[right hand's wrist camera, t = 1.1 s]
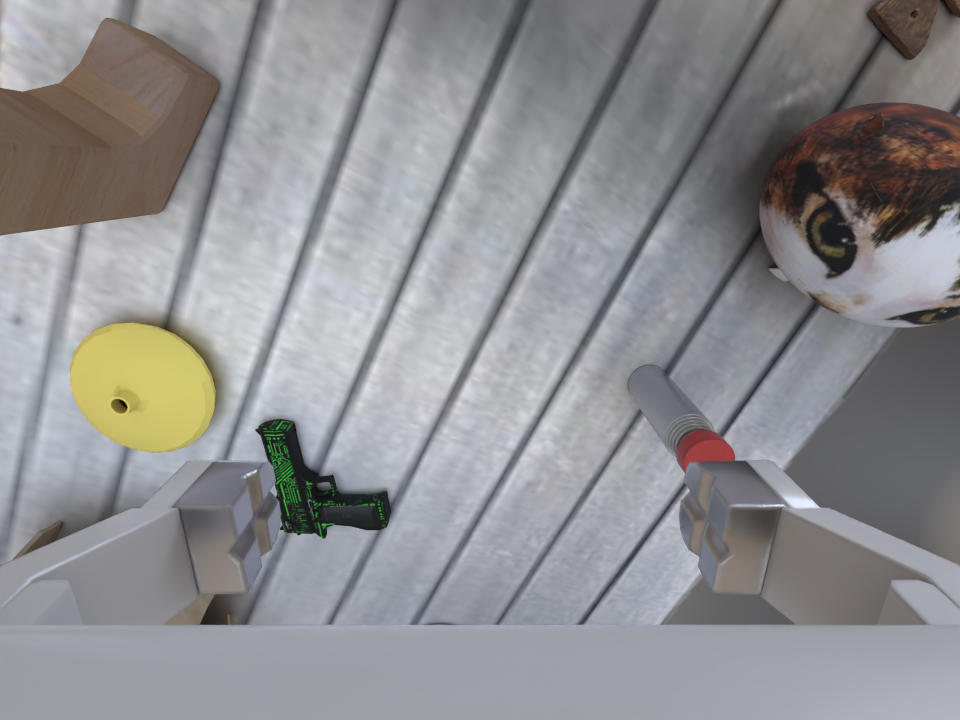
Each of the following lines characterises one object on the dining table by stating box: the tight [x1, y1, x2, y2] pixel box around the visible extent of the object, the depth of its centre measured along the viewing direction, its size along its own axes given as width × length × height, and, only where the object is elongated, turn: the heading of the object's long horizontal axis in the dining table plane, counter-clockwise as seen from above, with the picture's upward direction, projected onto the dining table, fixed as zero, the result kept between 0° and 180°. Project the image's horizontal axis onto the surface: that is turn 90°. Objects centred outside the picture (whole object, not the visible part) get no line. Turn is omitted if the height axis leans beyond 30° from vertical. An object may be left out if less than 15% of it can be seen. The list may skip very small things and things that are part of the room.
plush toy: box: [760, 103, 960, 327], centre depth 48 cm, size 22×18×20 cm
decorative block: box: [0, 18, 219, 235], centre depth 38 cm, size 8×15×30 cm, turn 145°
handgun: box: [255, 419, 391, 539], centre depth 64 cm, size 16×3×15 cm
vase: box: [70, 323, 216, 453], centre depth 58 cm, size 16×16×7 cm
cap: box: [676, 430, 735, 473], centre depth 46 cm, size 4×4×2 cm
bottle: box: [628, 365, 715, 457], centre depth 53 cm, size 5×5×17 cm
